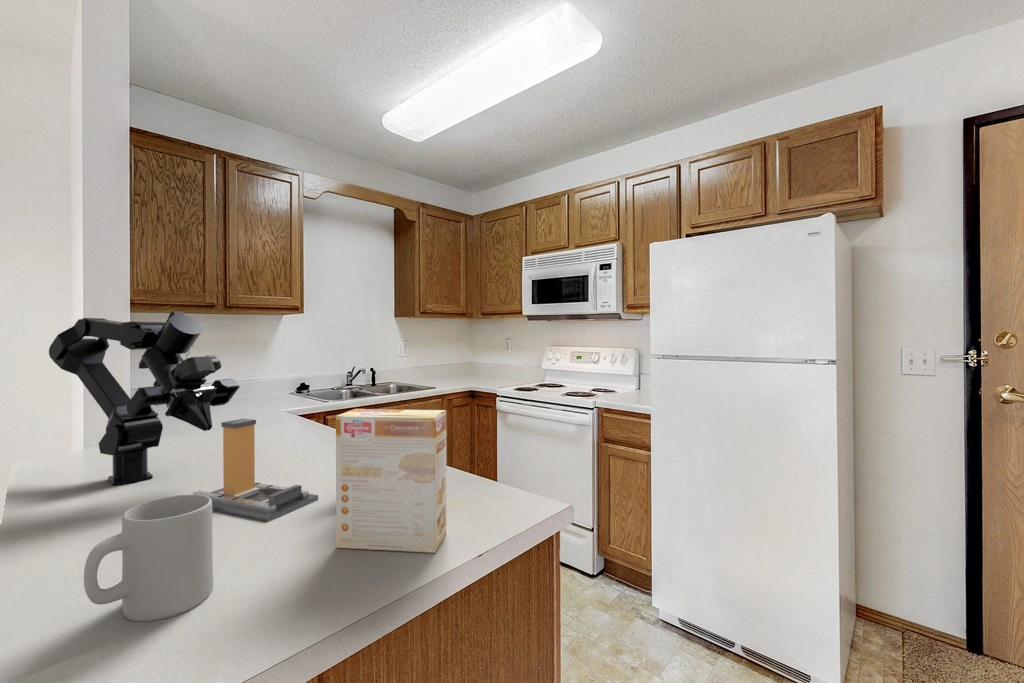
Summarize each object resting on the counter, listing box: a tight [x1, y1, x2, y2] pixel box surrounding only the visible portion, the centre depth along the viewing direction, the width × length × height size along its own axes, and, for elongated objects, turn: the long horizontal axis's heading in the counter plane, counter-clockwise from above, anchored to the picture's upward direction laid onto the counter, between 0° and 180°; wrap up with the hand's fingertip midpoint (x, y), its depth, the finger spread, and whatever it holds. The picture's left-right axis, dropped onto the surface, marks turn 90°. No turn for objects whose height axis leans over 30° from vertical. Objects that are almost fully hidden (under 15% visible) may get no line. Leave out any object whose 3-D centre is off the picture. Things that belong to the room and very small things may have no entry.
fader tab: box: [218, 418, 260, 499], centre depth 86 cm, size 5×5×14 cm
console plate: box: [192, 482, 319, 522], centre depth 85 cm, size 20×11×3 cm, turn 69°
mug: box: [83, 494, 214, 622], centre depth 52 cm, size 12×8×11 cm
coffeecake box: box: [335, 408, 447, 554], centre depth 70 cm, size 15×7×20 cm, turn 84°
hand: (208, 429), depth 89 cm, fingers closed
